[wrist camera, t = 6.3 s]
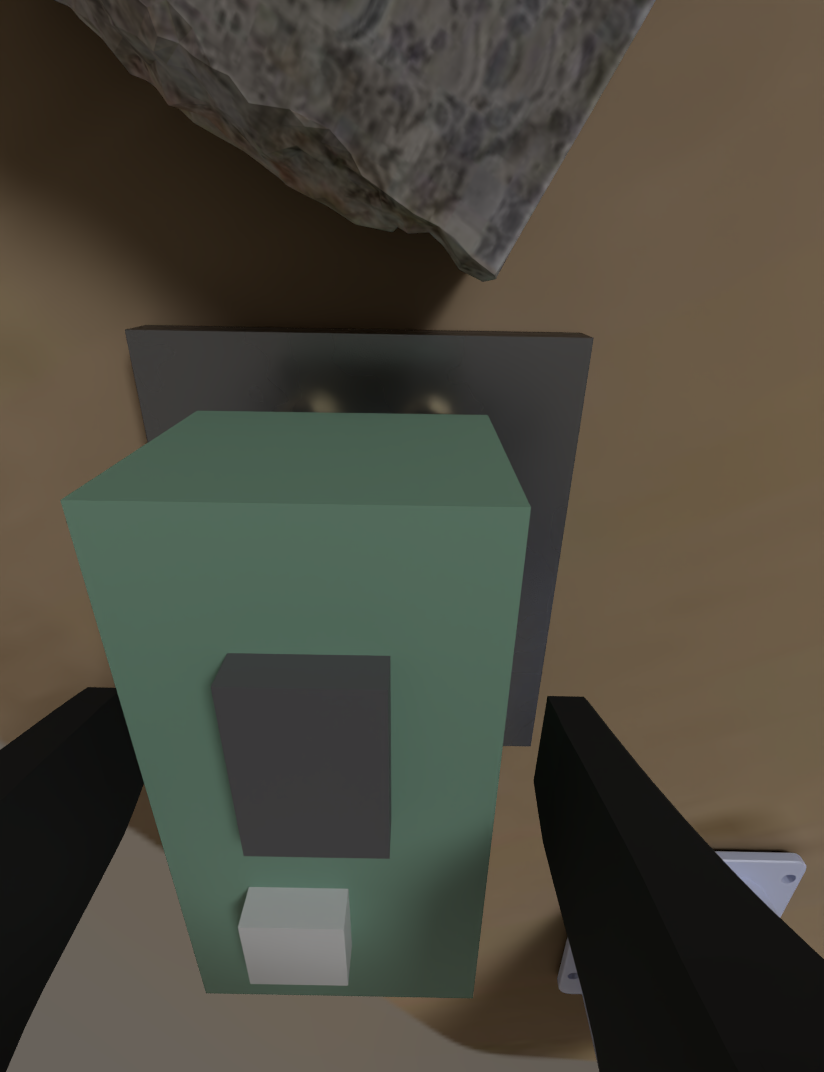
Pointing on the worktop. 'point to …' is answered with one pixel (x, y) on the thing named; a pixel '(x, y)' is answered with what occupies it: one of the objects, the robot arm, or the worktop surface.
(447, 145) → the geological specimen
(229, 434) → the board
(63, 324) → the worktop surface
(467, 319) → the worktop surface
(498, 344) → the plate
